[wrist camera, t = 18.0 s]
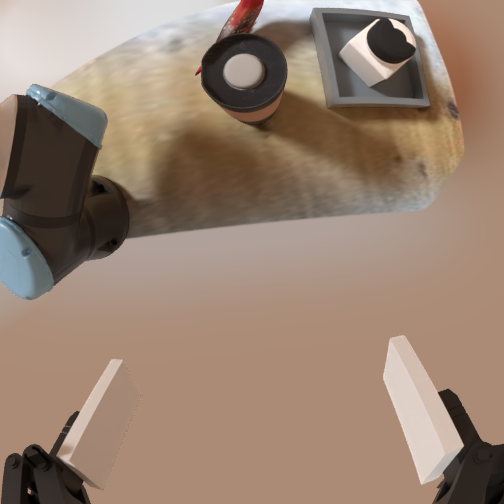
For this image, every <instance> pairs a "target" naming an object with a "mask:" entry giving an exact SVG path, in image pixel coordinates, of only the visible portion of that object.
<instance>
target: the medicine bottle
mask: <svg viewBox="0 0 504 504" xmlns="http://www.w3.org/2000/svg"><path fill="white" fill-rule="evenodd" d="M415 51H416V41H415V38H414V36H413V34H412V33H411V31H410V30H409V29H408V28H407V27H406V26H405V25H403V24H402V23H400V22H399V21H397V20H394V19H389V18H384V19H381V20H380V19H377V20H375V21H374V22H373V23H371V24H370V25H369V26H368V27H366V28H365V29H364V30H362V31H361V32H360V33H359V34H357V35H356V36H355V37H354V38H352V39H351V40H350V41H349V42H348V43H347V44H346V45H345V47H344V48H343V49H342V50H341V51H340V53H339V54H338V57H339V58H340V59H341V60H342V61H343V62H344V63H345V64H346V65H348V66H349V67H350V68H351V69H352V70H353V71H354V72H355V73H356V74H357V75H358V76H359V77H360V78H361V79H362V80H363V81H364V82H365V83H366V85H367V86H368V87H372V86H374V85H376V84H378V83H380V82H382V81H384V80H386V79H388V78H389V77H390V76H391V75H392V74H393V73H395V72H396V71H397V70H398V69H399V68H400V67H401V66H402V65H403V64H404V63H406V62H407V61H408V60H409V59H410V58H411V57H412V56H413V55H414V53H415Z"/></svg>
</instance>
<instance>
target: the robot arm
mask: <svg viewBox="0 0 504 504" xmlns="http://www.w3.org/2000/svg"><path fill="white" fill-rule="evenodd" d="M26 94H27V95H25V96H24V95H15V94H13V95H11V96H9V97H8V98H7V99H6V100H4V101H3V102H2V103H1V104H0V199H3V198H4V205H3V214H2V216H0V280H1V281H2V283H3V284H4V285H5V286H6V287H7V288H8V289H9V290H10V291H11V292H12V293H13V294H15V295H16V296H18V297H20V298H23V299H26V300H32V299H36V298H38V297H40V296H41V295H43V294H44V293H46V292H48V291H50V290H51V289H52V288H53V286H55V285H56V284H57V283H58V282H59V281H61V280H62V279H63V278H64V277H66V276H67V275H68V274H69V273H70V272H72V271H73V270H74V269H76V268H77V267H78V266H79V265H81V264H82V263H83V262H84V261H89V260H95V259H101V258H104V257H107V256H109V255H110V254H112V253H113V252H114V251H115V250H117V249H118V248H119V247H120V246H121V244H122V243H123V241H124V240H125V238H126V235H127V232H128V227H129V213H128V208H127V204H126V202H125V199H124V197H123V195H122V193H121V192H120V190H119V189H118V188H117V187H116V186H115V185H114V184H113V183H112V182H111V181H110V180H108V179H106V178H104V177H102V176H98V175H92V172H93V169H94V166H95V162H96V159H97V156H98V153H99V150H101V148H102V145H101V143H102V140H103V137H104V133H105V130H106V127H107V123H108V119H107V115H106V113H105V112H104V111H103V110H102V109H100V108H98V107H96V106H94V105H91V104H89V103H86V102H84V101H81V100H79V99H76V98H74V97H71V96H68V95H66V94H63V93H60V92H58V91H55V90H52V89H49V88H46V87H42V86H40V85H37V84H32V85H31V86H30V88H29V89H28V90H27V92H26ZM383 379H384V382H385V384H386V387H387V390H388V392H389V394H390V397H391V399H392V402H393V405H394V407H395V410H396V413H397V415H398V418H399V421H400V423H401V426H402V429H403V432H404V434H405V437H406V440H407V443H408V446H409V449H410V451H411V454H412V457H413V460H414V463H415V466H416V470H417V473H418V476H419V479H420V482H421V484H424V483H427V482H429V481H432V480H435V479H437V478H438V477H439V476H440V475H441V474H442V473H443V474H444V477H445V478H444V480H443V481H442V482H441V483H440V484H439V485H438V487H437V488H440V489H439V491H438V493H437V496H436V497H435V500H434V501H433V503H432V504H504V444H501V445H493V446H492V445H491V444H489V443H487V442H483V441H482V440H481V439H480V437H479V435H478V433H477V431H476V429H475V427H474V425H473V424H472V422H471V420H470V418H469V416H468V414H467V413H466V411H465V409H464V407H463V406H462V403H461V402H460V400H459V398H458V396H457V395H456V394H455V393H453V392H452V391H451V390H450V389H446V390H443V391H440V392H437V391H436V389H435V387H434V385H433V384H432V382H431V380H430V378H429V376H428V374H427V373H426V371H425V369H424V367H423V366H422V364H421V362H420V360H419V359H418V357H417V355H416V354H415V352H414V350H413V349H412V347H411V345H410V343H409V342H408V340H407V338H406V337H405V335H402V336H398V337H393V338H390V342H389V348H388V354H387V359H386V365H385V370H384V375H383ZM141 396H142V394H141V393H140V391H139V389H138V387H137V385H136V383H135V382H134V380H133V378H132V376H131V374H130V372H129V370H128V368H127V367H126V364H125V363H124V360H116V359H115V360H114V359H112V360H111V361H110V363H109V364H108V366H107V368H106V369H105V371H104V373H103V374H102V376H101V378H100V379H99V381H98V383H97V384H96V386H95V387H94V389H93V391H92V393H91V394H90V396H89V398H88V399H87V401H86V403H85V405H84V406H83V408H82V410H81V411H80V412H78V411H76V412H75V413H74V414H73V415H72V416H71V417H70V418H69V419H68V421H67V423H66V425H65V427H64V428H63V430H62V433H60V435H59V437H58V439H57V441H56V442H55V444H54V446H53V448H52V450H51V452H50V453H49V455H48V454H47V453H46V452H45V451H44V450H43V449H42V448H41V447H40V446H39V445H36V444H33V445H30V446H28V447H27V448H26V449H25V450H24V452H23V455H22V456H21V455H19V454H17V453H13V454H11V455H9V456H8V458H7V459H6V462H5V467H4V476H3V484H2V497H1V504H91V503H90V501H89V498H88V495H87V492H86V490H85V488H84V486H83V485H82V483H83V481H85V482H86V483H87V484H88V485H90V486H91V487H94V488H97V489H100V490H104V487H105V485H106V482H107V480H108V477H109V474H110V472H111V469H112V467H113V464H114V462H115V459H116V457H117V454H118V452H119V449H120V446H121V444H122V442H123V439H124V437H125V434H126V432H127V429H128V427H129V424H130V422H131V420H132V418H133V415H134V413H135V411H136V408H137V406H138V404H139V401H140V399H141ZM28 488H29V489H30V490H31V494H29V493H27V492H28Z"/></svg>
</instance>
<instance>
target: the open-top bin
mask: <svg viewBox="0 0 504 504" xmlns="http://www.w3.org/2000/svg"><path fill="white" fill-rule="evenodd" d="M384 18H389V19H394V20H397V21H399V22H400V23H402V24H403V25H405V26H406V27H407V28H408V29H409V30H410V31H411V33H412V34H413V36H414V38H415V41H416V37H415V33H414V30H413V27H412V23H411V20H410V17H409V16H406V15H400V14H394V13H387V12H379V11H370V10H359V9H345V8H313V10H312V13H311V16H310V19H309V20H310V24H311V28H312V32H313V37H314V41H315V46H316V50H317V55H318V60H319V65H320V70H321V76H322V81H323V87H324V92H325V98H326V105H327V108H339V107H401V108H421V107H427V106H430V103H429V96H428V90H427V85H426V80H425V74H424V70H423V65H422V61H421V56H420V52H419V48H418V44H417V41H416V51H415V53H414V55H413V56H412V57H411V58H410V59H409V60H408V61H407V62H406V63H404V64H403V65H402V66H401V67H400V68H399V69H398V70H397V71H396V72H395V73H393V74H392V75H391V76H390V77H389V78H388V79H386V80H384V81H382V82H380V83H378V84H376V85H374V86H372V87H368V86H367V85H366V83H365V82H364V81H363V80H362V79H361V78H360V77H359V76H358V75H357V74H356V73H355V72H354V71H353V70H352V69H351V68H350V67H349V66H348V65H346V64H345V63H344V62H343V61H342V60H341V59H340V58H339V57H338V54H339V53H340V51H341V50H342V49H343V48H344V47H345V45H346V44H347V43H348V42H349V41H350V40H351V39H352V38H354V37H355V36H356V35H357V34H359V33H360V32H361V31H362V30H364V29H365V28H366V27H368V26H369V25H370V24H371V23H373V22H374V21H375V20H377V19H380V20H381V19H384Z"/></svg>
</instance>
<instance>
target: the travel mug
mask: <svg viewBox="0 0 504 504" xmlns="http://www.w3.org/2000/svg"><path fill="white" fill-rule="evenodd" d="M286 79H287V63H286V59H285V57H284V55H283V53H282V51H281V50H280V49H279V47H278V46H277V45H276V44H275V43H273V42H272V41H270V40H269V39H267V38H265V37H263V36H260V35H257V34H251V33H238V34H233V35H230V36H227V37H224V38H222V39H221V40H219V41H217V42H216V43H215V44H213V45H212V46H211V47H210V48H209V49H208V51H207V52H206V53H205V55H204V57H203V59H202V66H201V81H202V82H201V84H202V87H203V88H204V90H205V91H206V93H207V94H208V95H209V96H210V97H211V98H212V99H213V100H214V101H215V102H216V103H217V104H218V105H219V106H220V107H221V108H222V109H224V110H225V111H226V112H227V113H228V114H229V115H230V116H232V117H233V118H235V119H237V120H239V121H240V122H243V123H245V124H250V125H257V124H261V123H263V122H266V121H267V120H269V119H270V118H271V117H272V116H273V114H274V113H275V111H276V109H277V108H278V106H279V104H280V101H281V98H282V94H283V91H284V87H285V83H286Z"/></svg>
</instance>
